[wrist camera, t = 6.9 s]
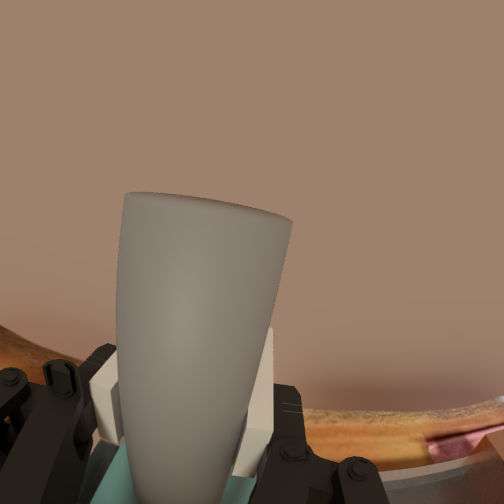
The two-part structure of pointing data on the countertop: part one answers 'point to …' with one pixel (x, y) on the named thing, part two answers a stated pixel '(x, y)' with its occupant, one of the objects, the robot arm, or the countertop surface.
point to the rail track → (381, 476)
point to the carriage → (189, 344)
